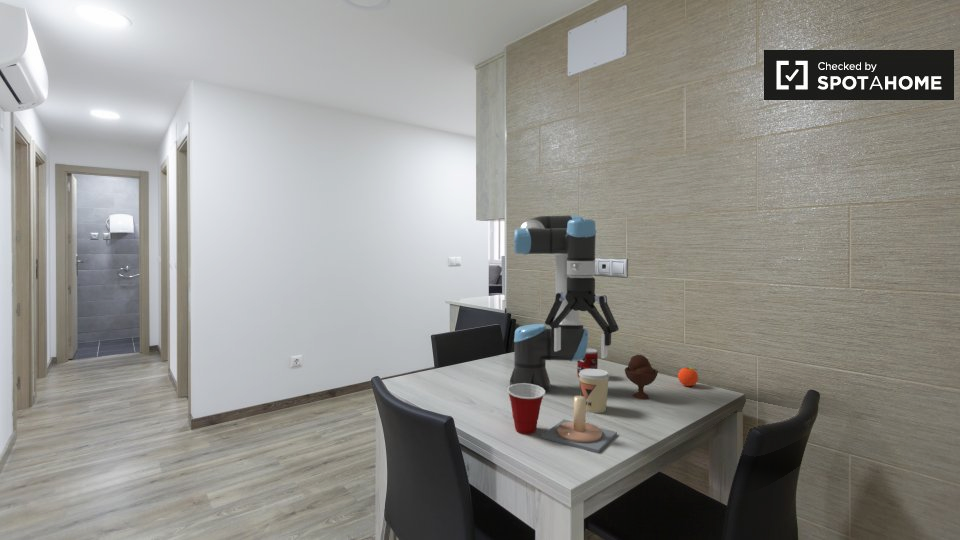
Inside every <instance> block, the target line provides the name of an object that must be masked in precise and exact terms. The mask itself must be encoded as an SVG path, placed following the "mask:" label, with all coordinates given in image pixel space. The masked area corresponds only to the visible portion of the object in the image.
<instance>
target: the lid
mask: <svg viewBox="0 0 960 540" xmlns="http://www.w3.org/2000/svg"><path fill="white" fill-rule="evenodd" d="M586 414H587V413H586V397H584V396H581V395H574V396H573V422H566V423H562V424H560V425H559V426H558V428H557V433H558V435H559V436H560V437H562V438H564V439H566V440H569V441H573V442H579V443H590V442H595V441H598V440H600V439H601V438H602V430H601V429H600V428H601V427H599V426H597V425H595V424H593V423H590V422H589V423H588V422H587V421H586V420H587V419H586V417H587V416H586Z"/></svg>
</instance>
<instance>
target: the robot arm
mask: <svg viewBox="0 0 960 540" xmlns="http://www.w3.org/2000/svg"><path fill="white" fill-rule="evenodd" d="M596 229H597V228H596V221H595V220H594V219H593V218H592V219H591V218H590V219H589V218H583V216H579V215H571V214H570V215H540V216H534V217H532V218H529V219H527V220H525V221H524V222H523V223H522V224H521V225H520V227H519V228H516V229H515V230H514V236H513V250H514V252H515V254H519V255H520V254H521V255H539V254H541V255H549V254H551V255H554V256H555V298H554V299H555V301H554V302H553V304H552V307H551V309H550V311H549V313H548V314H547V317H546V319H545V322H544V324H543V323H540V324H539V323H536V324H535V323H534V324H532V323H531V324H526V325H521V326H519V327H517V328H516V329H515V331H514V339H513V342H514V350H513V351H514V356H513V357H514V363H513V370H512V373H511V376H510V379H509V386H511V385H513V384H520V383H526V384H533V385H537V386H540V387H542V388H543V389H544V390H545V393H546V392H549V390H550V389H551V380H550V377H549V374H548V371H547V368H546V364H547V363H546V361H557V362H559V361H560V362H561V361H563V362H565V361H566V362H567V361H568V362H577V361H580V360H582V359H583V358H584V357H585V354H586V350H587V348H588V340H589V336H588V335H589V332H588V329H586V328H584V323H583V322H582V321H581V320H580V312H587V313H588V314H590V315H591V317H592V318H593V320H594V321H595V322H596V323H597V325H598V326H599V327H600V329H601V331H603V332H602V333H601V337H600V340H601V342H600V348H601V350H600V359H606V358H607V357H608V347H609V346H611V345H612V333H615V332H618V331H619V330H620V328H619V326H618V324H617V322H616V319H615V317H614V314H613V313H612V310H611V309H610V307H609V304H608V297H607V295H606V294H604V295H599V296H597V295H596V293H595V292H596V278H595V277H594V276H595V275H596V237H597V236H596V234H597V230H596ZM596 302H597V304H599V306H600V309H601V312H602V314H603V315H604V317H603V316H602V314H601V312H599V311H598V308H597V307H596V305H595V303H596ZM604 318H605V319H604ZM546 325H547V326H550V327H551V328H547V326H546Z"/></svg>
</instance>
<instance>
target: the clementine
mask: <svg viewBox="0 0 960 540" xmlns="http://www.w3.org/2000/svg"><path fill="white" fill-rule="evenodd" d="M677 378H678V381H679V382H680V384H682V385H683V386H685V387H693V386H695V385H696V384H697V383H698V381H699V375H698V370H697V369H696V368H694V367H690V366H689V367H683V368H681V369H680V370H679V372H678V374H677Z"/></svg>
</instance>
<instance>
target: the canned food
mask: <svg viewBox="0 0 960 540" xmlns="http://www.w3.org/2000/svg"><path fill="white" fill-rule="evenodd" d="M598 354H599V352H598V350H597V349H595V348H589V347H587V350H586V354H585V357H584V358H583V359H582V360H580V361H576V363H577V366H576V369H577V371H576V372H577V374H576V375H577V377H578V378H579V379H580V376H579V373H580V371H581V370H583V369H599V368H598V367H599V366H598V363H599V362H598V359H599V356H598Z"/></svg>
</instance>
